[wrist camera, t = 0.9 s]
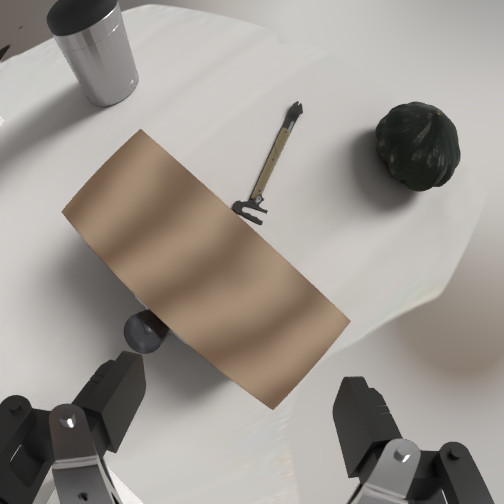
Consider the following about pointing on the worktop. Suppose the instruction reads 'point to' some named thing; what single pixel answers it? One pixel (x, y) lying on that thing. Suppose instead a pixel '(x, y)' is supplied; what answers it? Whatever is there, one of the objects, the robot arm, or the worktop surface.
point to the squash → (418, 145)
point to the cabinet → (204, 270)
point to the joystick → (146, 331)
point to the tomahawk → (269, 166)
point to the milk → (125, 494)
